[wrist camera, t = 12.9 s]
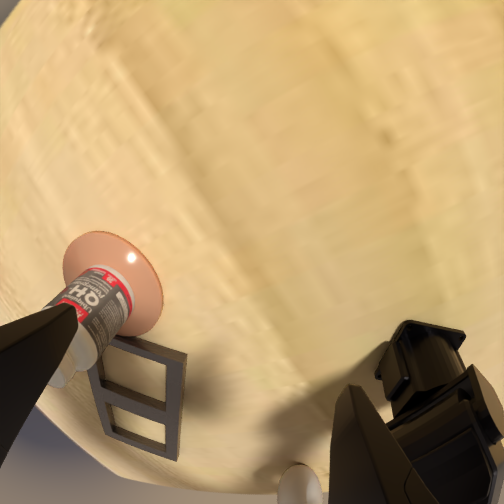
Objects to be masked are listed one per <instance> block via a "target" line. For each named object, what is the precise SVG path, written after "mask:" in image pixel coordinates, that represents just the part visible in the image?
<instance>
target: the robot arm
mask: <svg viewBox="0 0 504 504" xmlns="http://www.w3.org/2000/svg"><path fill="white" fill-rule="evenodd" d="M411 325H412V326H411ZM408 326H411V327H408ZM77 330H78V318H77V312H76V308H75V306H74V305H71V304H69V303H66V302H64V303H61V304H58V305H55V306H53V307H50V308H47V309H45V310H42V311H39V312H37V313H34V314H31V315H29V316H26V317H23V318H21V319H18V320H16V321H13V322H10V323H8V324H5V325H3V326H0V467H1V465H2V463H3V462H4V460H5V458H6V456H7V453H8V452H9V449H10V448H11V446H12V444H13V442H14V440H15V438H16V437H17V435H18V433H19V431H20V429H21V428H22V426H23V424H24V422H25V421H26V419H27V417H28V415H29V414H30V412H31V410H32V408H33V407H34V405H35V404H36V402H37V400H38V399H39V397H40V395H41V394H42V392H43V390H44V389H45V387H46V385H47V384H48V382H49V381H50V379H51V378H52V376H53V374H54V373H55V371H56V370H57V368H58V366H59V365H60V363H61V361H62V359H63V357H64V355H65V353H66V351H67V349H68V347H69V346H70V344H71V342H72V340H73V338H74V336H75V334H76V332H77ZM460 336H461V337H460ZM465 338H466V335H465V333H464V331H461V330H456V329H451V328H447V327H442V326H437V325H432V324H428V323H423V322H419V321H414V320H408V321H406V322H405V323H404V324H403V326H402V328H401V329H400V331H399V333H398V335H397V336H396V338H395V340H394V341H393V342H392V343H391V345H390V346H389V348H388V350H387V351H386V353H385V355H384V356H383V358H382V360H381V361H380V363H379V366H378V368H377V370H376V371H375V373H374V374H375V378H376V379H377V380H382V382H383V387H384V392H385V398H386V400H387V401H391V407H392V412H393V418H394V419H393V420H391V421H389V422H388V423H386V424H385V423H384V421H383V419H382V418H381V416H380V415H379V413H378V412H377V410H376V409H375V407H374V406H373V404H372V403H371V401H370V400H369V398H368V397H367V395H366V394H365V392H364V390H363V389H362V388H361V386H359V385H354V384H347V385H346V386H345V388H344V390H343V391H342V393H341V394H340V396H339V398H338V399H337V402H336V405H335V414H334V422H333V430H332V437H331V445H330V474H329V499H328V504H497V503H498V500H499V496H500V492H501V488H502V484H503V480H504V448H503V446H502V443H501V439H503V438H504V411H503V407H502V405H501V403H500V400H499V398H498V396H497V394H496V392H495V390H494V389H493V387H492V385H491V384H490V383H489V382H488V381H487V380H486V378H485V377H484V376H483V375H482V374H481V373H480V371H479V370H478V369H477V368H476V367H475V366H474V365H473V364H471V365H470V366H469V367H468V368H467V370H466V367H465V365H464V363H463V361H462V359H461V356H460V354H459V352H458V349H459V348H460V346H461V345H462V343H463V342H464V340H465ZM379 374H380V375H379Z"/></svg>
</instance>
